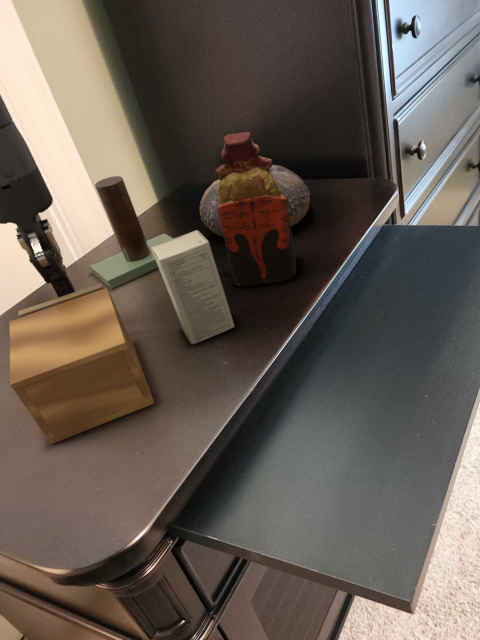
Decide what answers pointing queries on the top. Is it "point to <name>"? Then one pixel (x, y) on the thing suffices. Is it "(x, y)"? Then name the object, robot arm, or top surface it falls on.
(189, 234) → the cosmetic box
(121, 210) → the brown wooden cylinder
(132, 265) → the board
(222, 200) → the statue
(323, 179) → the top surface
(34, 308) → the drawer
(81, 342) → the cabinet
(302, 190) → the sea urchin shell
